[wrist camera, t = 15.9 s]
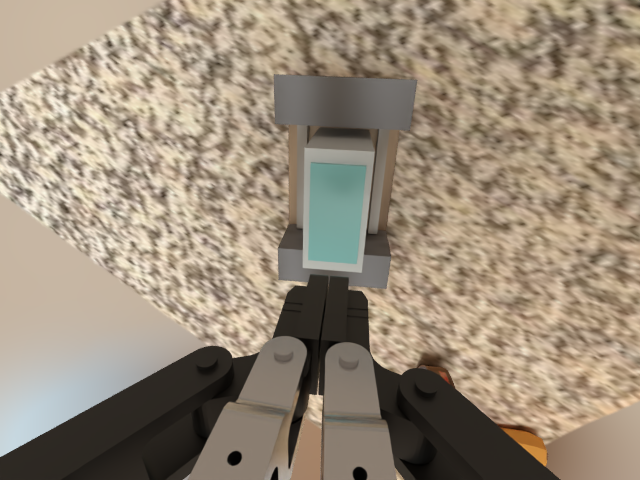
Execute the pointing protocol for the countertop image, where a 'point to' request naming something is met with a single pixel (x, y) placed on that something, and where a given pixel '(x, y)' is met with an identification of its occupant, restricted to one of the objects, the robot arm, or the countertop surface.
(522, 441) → the orange rounded piece
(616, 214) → the countertop surface
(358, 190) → the block
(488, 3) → the countertop surface
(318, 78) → the rack
